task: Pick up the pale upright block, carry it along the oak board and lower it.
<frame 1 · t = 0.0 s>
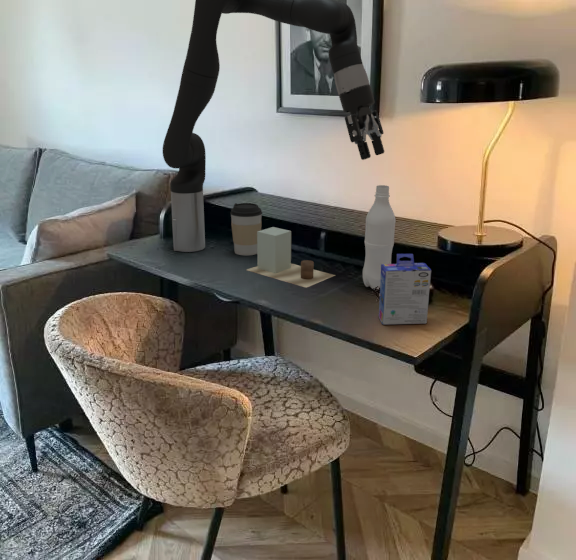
hand: (373, 156, 143), 31 cm above the table, tool tilted 20°, fingers open, 8 cm apart
ink cartridge box: (402, 320, 131), on the table
oak board: (290, 276, 157), on the table
water bottle: (376, 287, 151), on the table
coffee cup: (246, 256, 174), on the table
pale upright block: (274, 268, 160), point 1 cm above the table, touching oak board
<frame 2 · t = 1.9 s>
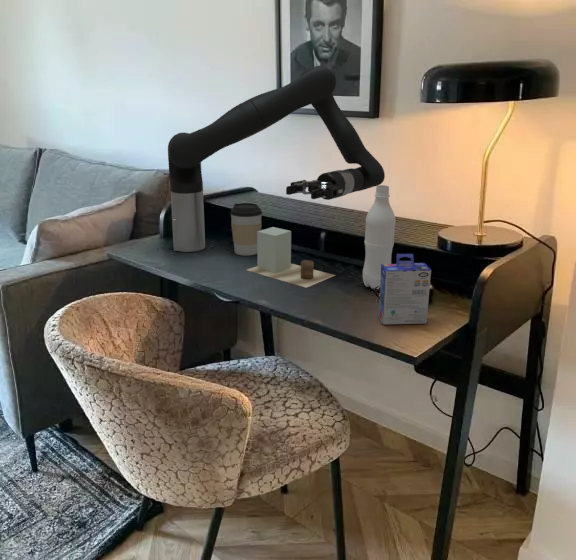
hand: (299, 193, 161), 20 cm above the table, tool horizontal, fingers open, 8 cm apart
nothing on the table moved.
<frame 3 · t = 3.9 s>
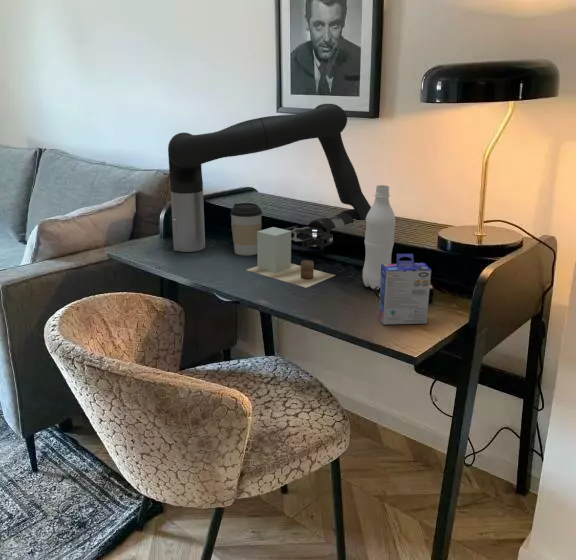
hand: (290, 241, 163), 7 cm above the table, tool horizontal, fingers open, 8 cm apart
nothing on the table moved.
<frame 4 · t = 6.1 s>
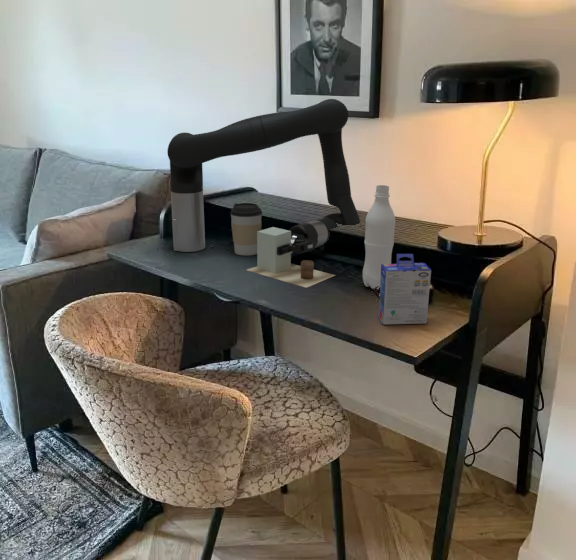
hand: (268, 248, 156), 7 cm above the table, tool horizontal, fingers closed on pale upright block, 6 cm apart
pale upright block: (274, 268, 160), point 1 cm above the table, touching gripper, oak board
everything else where it was.
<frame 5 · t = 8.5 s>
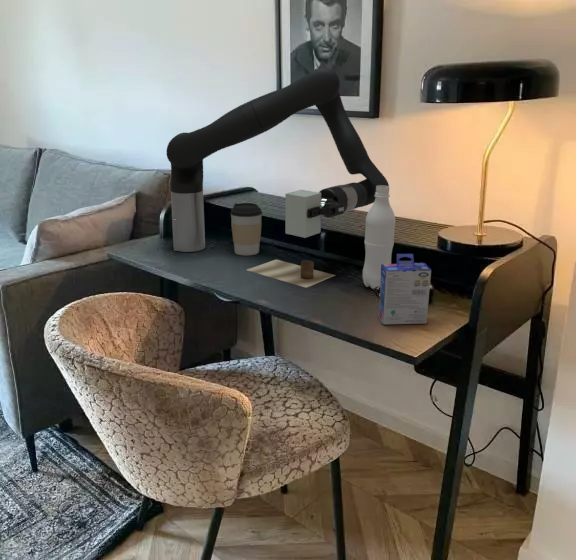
hand: (297, 211, 147), 18 cm above the table, tool horizontal, fingers closed on pale upright block, 6 cm apart
pale upright block: (303, 233, 151), point 12 cm above the table, touching gripper
everything else where it was.
when the fingers open (8 cm above the table, at t = 11.1 s): pale upright block drops 1 cm, resting on oak board.
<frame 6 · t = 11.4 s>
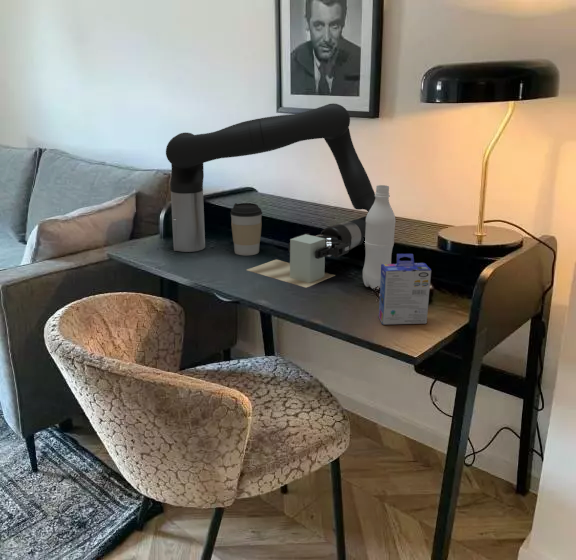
hand: (302, 251, 149), 8 cm above the table, tool horizontal, fingers open, 8 cm apart
pale upright block: (307, 277, 153), point 1 cm above the table, touching oak board
everything else where it was.
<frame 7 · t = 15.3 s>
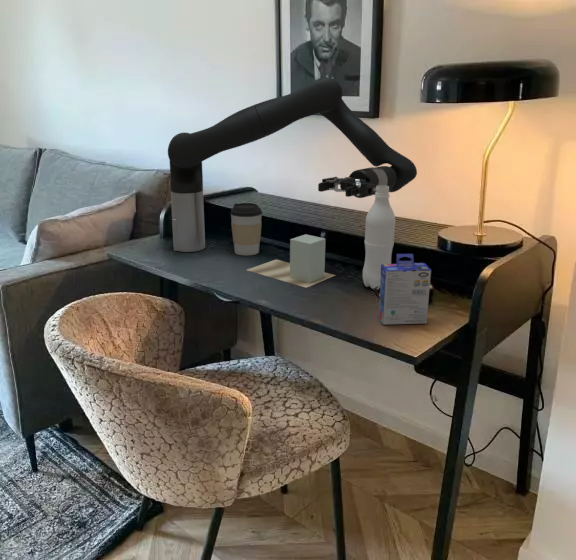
hand: (332, 189, 153), 22 cm above the table, tool horizontal, fingers open, 8 cm apart
nothing on the table moved.
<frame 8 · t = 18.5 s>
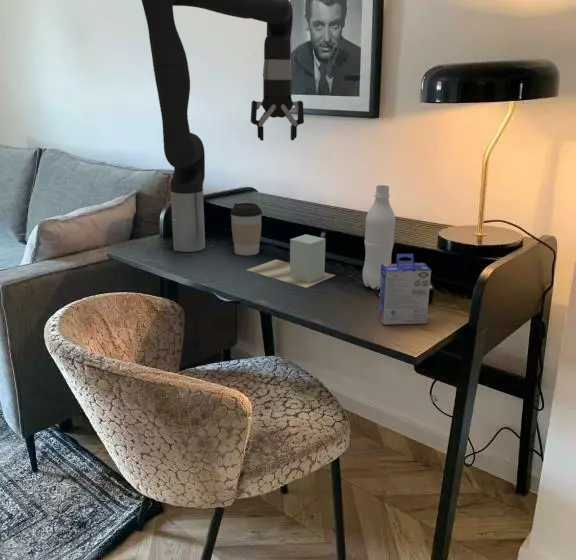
hand: (277, 140, 166), 32 cm above the table, tool pointing down, fingers open, 8 cm apart
nothing on the table moved.
at the end: pale upright block 0.1 cm from the target spot, point 1.2 cm above the table; pale upright block tilted 0°; the gripper is holding nothing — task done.
